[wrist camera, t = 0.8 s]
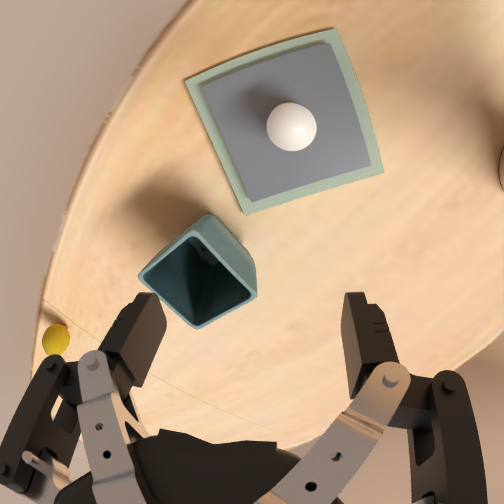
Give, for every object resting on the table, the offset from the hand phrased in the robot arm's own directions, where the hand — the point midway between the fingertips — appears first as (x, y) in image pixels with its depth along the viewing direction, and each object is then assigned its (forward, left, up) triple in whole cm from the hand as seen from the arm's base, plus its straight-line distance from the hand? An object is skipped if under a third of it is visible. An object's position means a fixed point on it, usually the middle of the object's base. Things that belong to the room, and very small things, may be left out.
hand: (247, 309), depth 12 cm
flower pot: (+9, +5, -21) cm, 23 cm away
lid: (-4, -5, -20) cm, 21 cm away
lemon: (+48, +12, -21) cm, 54 cm away
